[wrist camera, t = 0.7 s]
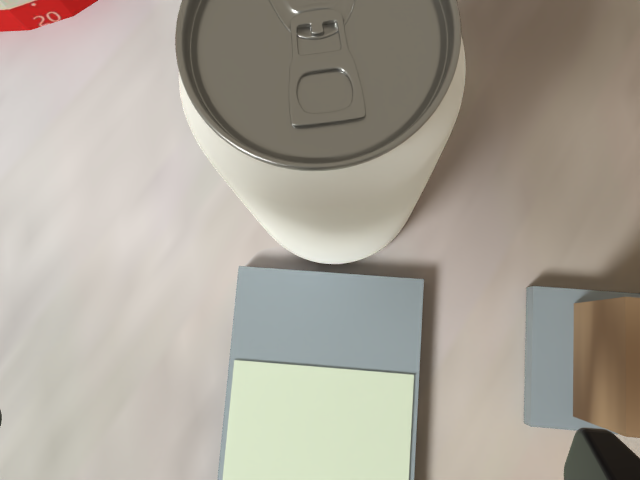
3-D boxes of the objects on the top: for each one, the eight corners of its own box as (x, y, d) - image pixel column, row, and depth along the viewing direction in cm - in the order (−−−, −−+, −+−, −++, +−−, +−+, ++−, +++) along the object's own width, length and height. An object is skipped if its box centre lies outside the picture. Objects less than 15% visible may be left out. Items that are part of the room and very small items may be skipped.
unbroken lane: (401, 680, 20) (403, 696, 19) (204, 657, 20) (197, 672, 20) (421, 281, 22) (424, 279, 21) (242, 268, 23) (238, 265, 22)
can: (403, 99, 23) (457, -138, 12) (426, 255, 22) (510, 169, 11) (246, 120, 24) (142, -93, 12) (262, 275, 23) (164, 212, 11)
